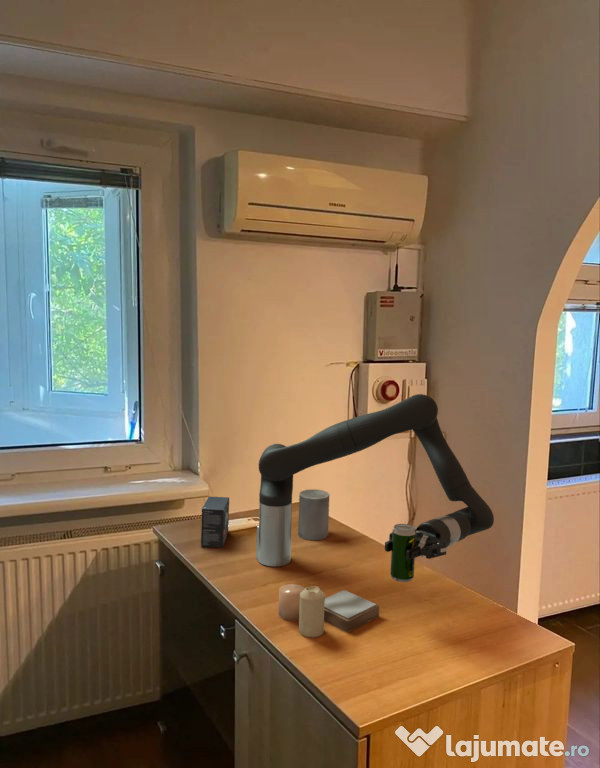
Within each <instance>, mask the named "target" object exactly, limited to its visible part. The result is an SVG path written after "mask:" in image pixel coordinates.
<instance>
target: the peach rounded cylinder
mask: <svg viewBox="0 0 600 768" xmlns="http://www.w3.org/2000/svg"><path fill="white" fill-rule="evenodd" d="M304 589H305V587H303V586H302V585H299V584H295V583H290V584H289V583H288V584H284V585H283V584H282V585H281V586H280V587H279V588H278V616H279V618H281V619H283V620H286V621H299V610H300V593H301V592H302V591H303V590H304Z"/></svg>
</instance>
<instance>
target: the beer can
mask: <svg viewBox="0 0 600 768" xmlns="http://www.w3.org/2000/svg"><path fill="white" fill-rule="evenodd" d="M415 530H416V526H414V525H411V524H410V523H409V524H408V523H397V524H394V525H393V529H392V531H391V533H392V551H390V552H391V556H390V576H391V579H392V580H394V581H396V582H400V583H409V582H411V581H413V580H414V578H415V577H414V576H415V563H416V558H413V559H411V560H408V559H406V551H407V550H408V549H410V548H413V547H415V546H416V531H415Z"/></svg>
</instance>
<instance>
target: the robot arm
mask: <svg viewBox="0 0 600 768" xmlns="http://www.w3.org/2000/svg"><path fill="white" fill-rule="evenodd" d="M438 408H439V407H438V405H437V402H436V401H435V400H434V399H433V398H432V397H430V396H429V395H427V394H422V393H418V394H413V395H411V396H410V397H407V398H406V399H404V400H401V401H400V402H398V403H396V404H393V405H391V406H389V407H387V408H385V409H382V410H378V411H374V412H371V413H370V412H369V413H366V414H362V415H359V416H356V417H352V418H348V419H346V420H343V421H340V422H337V423H335V424H333V425H330V426H328V427H326V428H324V429H322V430H321V431H319V432H317V433H315V434H314V435H312V436H310V437H309V438H307V439H305V440H303V441H300V442H298V443H297V442H296V443H294V444H292V445H287V446H286V445H284V444H282V443H273V444H271V445H268V446H267V447H266V448H265V449H264V450H263V452H262V454H261V455H260V458H259V460H258V471H259V474H260V487H259V493H258V495H259V496H258V497H259V498H258V500H259V501H258V502H259V503H258V505H259V507H258V525H257V526H256V538H255V539H256V540H255V542H256V544H255V545H256V546H255V547H256V548H255V555H256V556H255V558H256V559H257V561H258V562H259V563H260V564H261V565H263V566H268V567H282V566H286V565H288V564H290V562H291V557H292V555H291V553H292V551H291V550H292V519H293V518H292V516H293V515H292V514H293V513H292V509H293V489H294V475H296V474H298V473H300V472H303V471H304V470H306V469H308V468H311V467H314V466H317V465H320V464H321V465H322V464H324V463H327V462H332V461H334V460H337V459H340V458H344V457H346V456H347V457H348V456H349V455H353V454H356V453H359V452H361V451H364V450H366V449H368V448H370V447H373V446H374V445H376V444H378V443H380V442H382V441H383V440H386V439H388V438H390V437H392V436H394V435H398V434H400V433H403V432H407V431H412V432H413V433H414V434H415V437H417V438H418V441H420V443H421V446H422V447H423V448H424V450H425V453H426V455H427V456H428V458H429V461H430V463H431V465H432V467H433V469H434V472H435V475H436V476H437V479H438V481H439V483H440V485H441V487H442V489H443V491H444V492H445V496H446V497H447V499H448V500H449V501H450V502H462V503H464V504H465V505H466V507H464V508H461V509H458V510H455V511H453V512H451V513H447V514H445V515H442V516H441V515H440V516H437V517H434V518H432V519H429V520H427V521H423V522H421V523H420V524H419V525H418V526H417V528H415V531H416V546H415V547H413V548H410V549H408V550H407V551H406V559H408V560H411V559H413V558H415V559H416V558H418V557H419V558H422V557H423V558H424V557H425V558H426V559H428V560H429V559H430V560H431V559H434V558H439V557H441V556H446V555H447V550H448V548H450V547H451V546H453V545H454V544H455V543H459V542H460V541H462V540H464V539H466V538H468V536H471V535H475V534H478V533H481V532H483V531H487V530H489V529H490V528H492V526H494V522H495V518H494V514H493V510H492V509H491V508H490V506H489V504H488V503H487V501H485V500H484V499H483V497H481V496H480V494H479V493H478V492H477V491H476V490H475V488H474V487H473V486H472V484H471V482H470V481H469V478H468V477H467V473H466V472H465V470H464V469H463V467H462V465H461V463H460V461H459V460H458V458H457V456H456V455H455V453H454V452H453V450H452V448H450V446H449V444H448V442H447V440H446V438H445V436H444V434H443V432H442V429H441V426H440V423H439V420H438V413H439V412H438V411H439V409H438ZM384 552H387V553H389V552H392V532H390V533H389V535H388V540H387V541H385V542H384Z"/></svg>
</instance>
